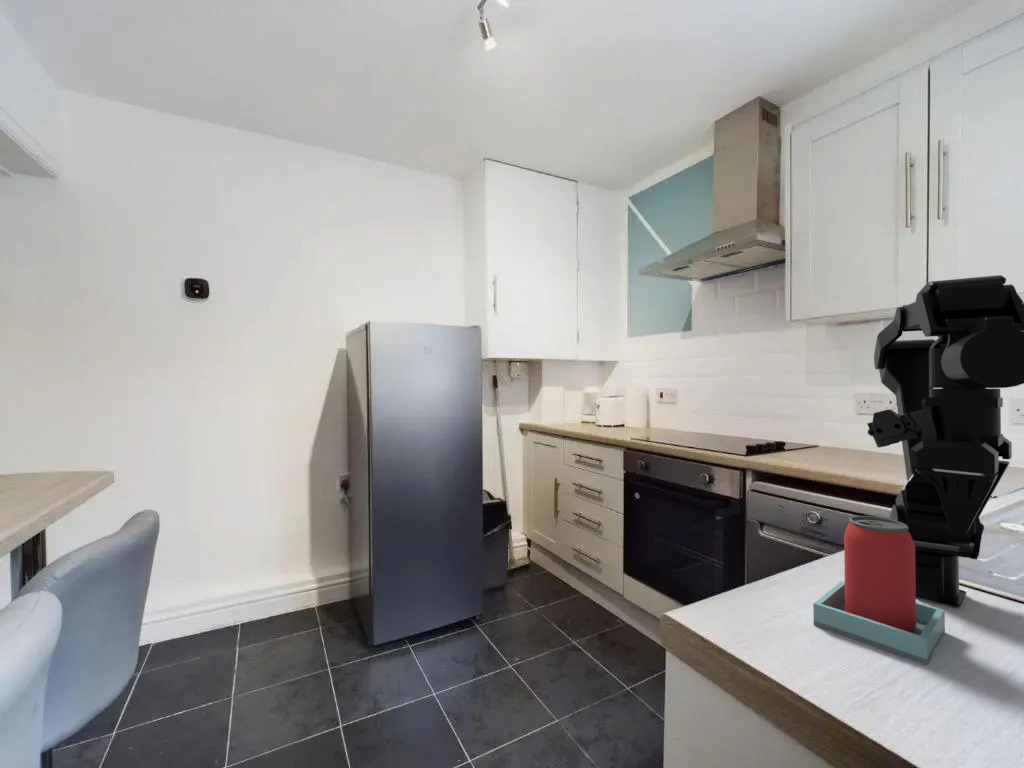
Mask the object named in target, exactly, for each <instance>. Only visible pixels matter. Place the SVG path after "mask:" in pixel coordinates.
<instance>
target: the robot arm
mask: <svg viewBox="0 0 1024 768" xmlns="http://www.w3.org/2000/svg"><path fill="white" fill-rule="evenodd" d="M1006 281H1007V278H1006V277H1005V276H1004V275H999V274H998V275H989V276H987V275H985V276H977V277H966V278H954V279H945V280H933V281H928V282H927V283H926V284H925V285H924V286H923V287H922V288H921V289H920V290H919V292H918V293H917V294H916V297H915V301H914V302H911V303H908V304H903V305H902V306H897V307H896V309H895V313H894V319H893V320H892V321H891V322H889V324H888V325H887V326H885V327H884V328H883V329H882V330H881V331H880V332H879V333H878V334H877V337H876V343H875V348H874V353H873V354H874V355H873V362H874V363H873V364H874V369H875V370H878V371H879V375H880V377H879V378H880V382H881V384H882V385H884V387H886V388H887V389H888V390H889V391H890V392H891V393H893V394H894V396H895V401H896V407H897V412H895V411H894V410H893V409H884V410H881V411H877V412H874V413H873V415H872V416H873V417H872V422H868V423H866V424H867V427H868V430H867V434H868V435H869V436H870V437H872V438H873V441H874V442H875V445H876V447H877V448H883V447H889V446H891V445H894V444H895V445H896V444H899V443H900V442H901V445H902V451H903V452H902V453H903V460H904V467H905V468H904V469H905V475H906V483H905V484H904V486H903V487H902V489H900V492H899V493H898V495H897V496H896V498H895V504H893V505H892V507H891V511H890V516H889V518H888V519H890V520H895V521H898V522H901V523H904V524H906V525H907V526H908V527H909V529H908V531H909V533H910V535H911V537H912V539H913V542H914V545H915V578H916V598H920V599H924V600H927V601H931V602H935V603H936V604H937V603H938V604H941V605H945V606H949V607H953V608H958V609H959V608H960V607H961V605H962V604H963V602H964V601H965V598H966V597H967V591H965V590H962V589H960V563H959V561H960V560H959V559H960V558H968V559H971V560H978V557H980V550H981V544H982V543H981V542H982V537H983V533H984V530H985V525H984V524H983V523H982V522H981V521H980V516H981V514H982V513H983V511H984V509H985V508H986V505H987V504H988V502H989V500H990V498H991V496H992V495H993V493H994V491H995V489H996V488H997V486H998V484H999V482H1000V481H1001V480H1002V478H1003V476H1004V474H1005V472H1006V470H1007V469H1008V467H1009V466H1010V461H1008V460H1011V459H1012V457H1013V455H1012V451H1013V450H1012V444H1013V443H1012V441H1011V440H1009V439H1008V438H1006V437H1005V436H1004V434H1002V424H1001V423H1002V419H1001V418H1002V417H1001V416H1002V415H1001V412H1002V411H1001V408H1003V407H1004V406H1003V405H1004V404H1003V403H1004V400H1003V397H1001V389H1007V388H1012V387H1017V386H1020V385H1023V384H1024V301H1023V299H1022V298H1021V296H1020V295H1019V294H1018V292H1017V290H1016V288H1015V286H1014V285H1013V284H1006ZM905 332H922V333H923V335H924V337H926V338H928V337H930V338H931V337H938V338H937V339H936V340H935V339H933V338H931V339H930V338H929V339H907V340H904V339H903V340H898V339H899V338H901V336H903V333H905ZM999 457H1001V458H1002V460H1000V459H999ZM1006 460H1007V461H1006ZM959 557H960V558H959Z"/></svg>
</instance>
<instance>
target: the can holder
mask: <svg viewBox="0 0 1024 768" xmlns="http://www.w3.org/2000/svg"><path fill="white" fill-rule="evenodd" d="M945 614H946V612H945V609H942V608H939V607H935V606H931V605H928V604H925V603H922V602H921V603H920V602H917V601H916V628H915V630H914V632H912V633H911V632H908V631H904V630H901V629H898V628H895V627H892V626H889V625H886V624H883V623H879V622H876V621H873V620H870V619H867V618H864V617H861V616H858V615H854V614H851V613H848V612H846V611H845V581H842V580H841V581H839V582H838V583H837V584H836V585H835V586H833V587H832V588H831V589H829V590H828V591H827V592H826V593H825V594H823V595H821V597H820V598H819V599H817V600H816V601H815V602H813V626H815V627H818V628H820V629H824V630H827V631H830V632H833V633H834V634H837V635H841V636H843V637H846V638H849V639H852V640H854V641H858V642H861V643H863V644H866V645H869V646H871V647H874V648H876V649H880V650H883V651H886V652H889V653H892V654H894V655H897V656H900V657H901V658H905V659H908V660H911V661H914V662H915V663H916V662H917V663H920V664H922V665H925V666H928V663H930V660H931V658H932V656H933V655H934V652H935V651H936V649H937V647H938V645H939V644H940V643H941V640H942V638H943V637H944V635H945V633H946V624H945V622H946V620H945V619H946V615H945Z"/></svg>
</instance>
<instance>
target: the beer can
mask: <svg viewBox="0 0 1024 768" xmlns="http://www.w3.org/2000/svg"><path fill="white" fill-rule="evenodd" d="M848 520H849V523H848V525H847V527H846V529H845V532H844V535H843V543H844V546H843V547H844V549H843V551H844V582H845V611H846V612H848V613H851V614H854V615H858V616H861V617H864V618H867V619H870V620H873V621H876V622H879V623H883V624H886V625H889V626H892V627H895V628H898V629H901V630H904V631H908V632H911V633H912V632H914V630H915V628H916V602H917V600H916V599H917V597H916V578H915V545H914V542H913V539H912V537H911V535H910V533H909V531H908V529H909V527H908V526H907V525H906V524H904V523H901V522H898V521H895V520H890V519H889V518H885V517H878V516H867V515H858V516H857V515H855V516H851V517H850V518H849V519H848Z"/></svg>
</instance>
